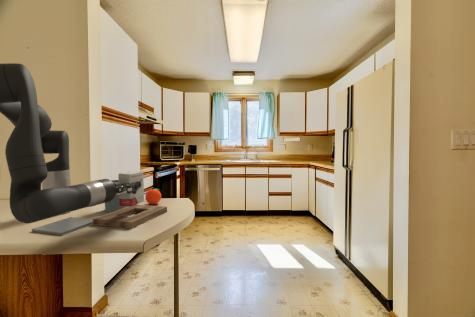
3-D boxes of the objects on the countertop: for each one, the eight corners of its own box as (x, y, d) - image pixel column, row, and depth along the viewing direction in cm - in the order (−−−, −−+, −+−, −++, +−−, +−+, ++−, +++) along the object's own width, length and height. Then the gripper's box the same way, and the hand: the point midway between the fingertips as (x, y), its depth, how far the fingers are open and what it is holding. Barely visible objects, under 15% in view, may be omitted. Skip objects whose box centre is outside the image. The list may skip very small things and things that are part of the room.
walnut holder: (93, 224, 83) (92, 218, 83) (134, 209, 102) (133, 204, 102) (131, 228, 79) (131, 222, 78) (167, 211, 98) (166, 206, 98)
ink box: (130, 207, 86) (129, 173, 85) (118, 206, 87) (117, 173, 86) (144, 201, 94) (143, 171, 93) (133, 200, 95) (132, 170, 94)
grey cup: (104, 214, 96) (102, 184, 95) (102, 208, 104) (100, 180, 103) (132, 210, 101) (130, 181, 100) (127, 205, 110) (126, 178, 109)
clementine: (161, 201, 116) (160, 186, 116) (165, 204, 110) (165, 188, 110) (143, 203, 112) (143, 188, 111) (147, 206, 106) (147, 190, 105)
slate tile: (31, 231, 77) (31, 229, 77) (70, 219, 90) (70, 217, 90) (62, 235, 73) (61, 232, 73) (98, 221, 86) (98, 219, 86)
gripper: (113, 181, 72) (149, 174, 89) (76, 179, 77) (117, 173, 93) (114, 206, 73) (150, 194, 89) (78, 203, 77) (118, 192, 93)
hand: (133, 183), depth 91 cm, fingers closed on ink box, 5 cm apart
